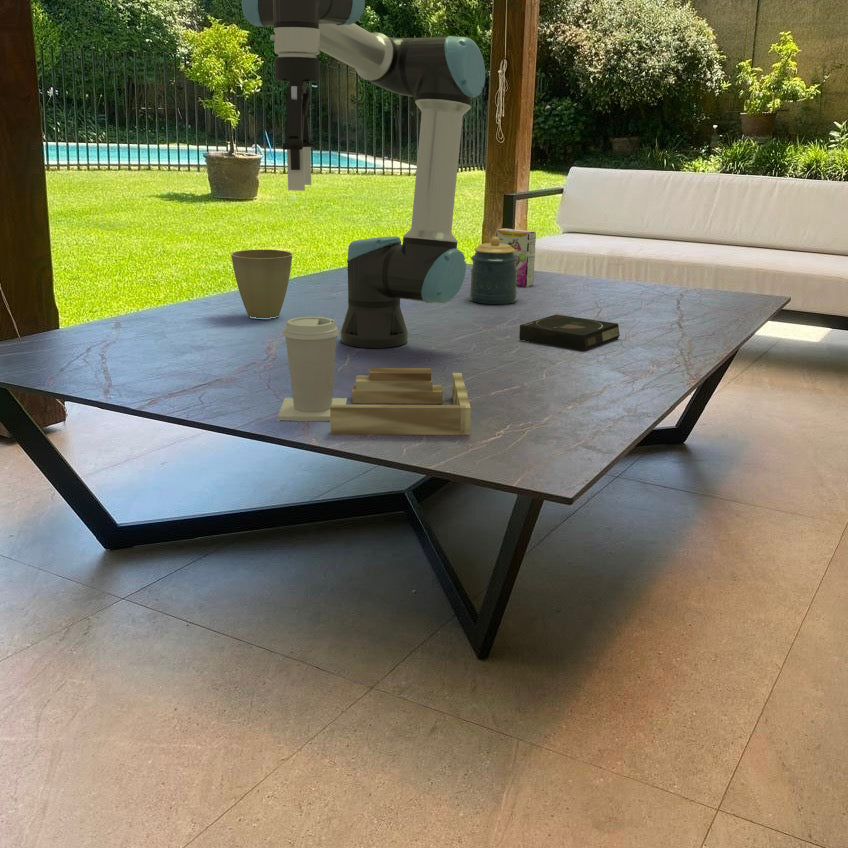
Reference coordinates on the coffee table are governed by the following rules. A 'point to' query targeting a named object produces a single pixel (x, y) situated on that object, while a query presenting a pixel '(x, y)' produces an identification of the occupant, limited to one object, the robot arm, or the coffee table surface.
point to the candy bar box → (521, 252)
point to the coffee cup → (311, 361)
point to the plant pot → (262, 280)
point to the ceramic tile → (292, 414)
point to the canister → (494, 273)
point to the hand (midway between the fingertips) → (300, 187)
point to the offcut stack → (397, 387)
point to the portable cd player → (569, 332)
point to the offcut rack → (406, 417)
